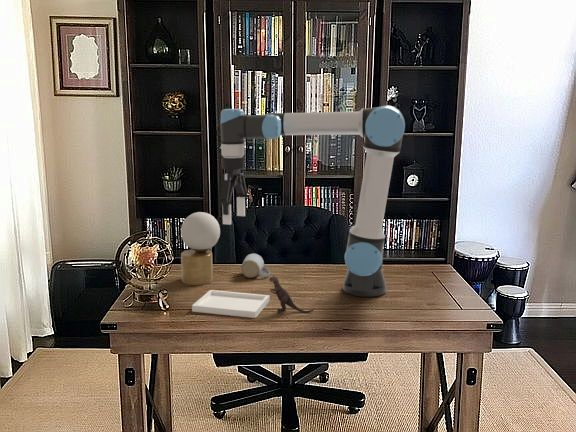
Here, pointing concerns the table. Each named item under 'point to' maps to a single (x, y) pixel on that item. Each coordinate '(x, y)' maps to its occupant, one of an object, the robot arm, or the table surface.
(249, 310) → the tray
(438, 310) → the table surface
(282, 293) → the dinosaur model
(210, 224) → the lamp
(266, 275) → the ceramic mug
